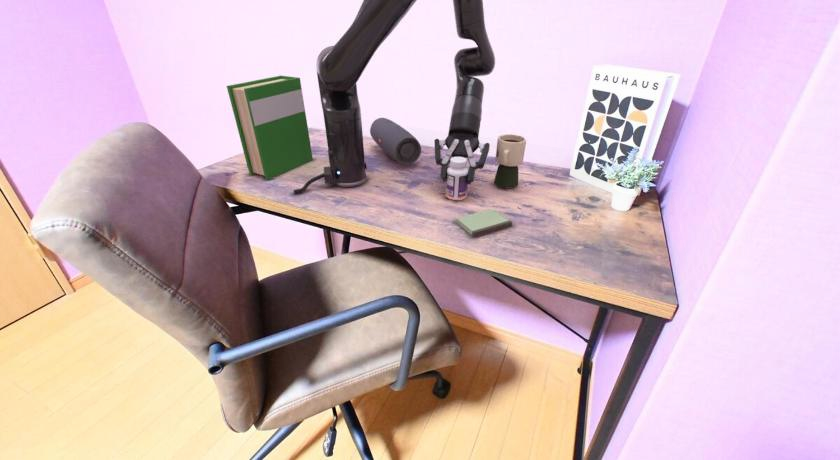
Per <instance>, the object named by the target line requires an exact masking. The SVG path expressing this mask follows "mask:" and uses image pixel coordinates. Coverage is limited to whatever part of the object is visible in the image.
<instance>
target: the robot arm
mask: <svg viewBox="0 0 840 460" xmlns="http://www.w3.org/2000/svg"><path fill="white" fill-rule="evenodd" d="M417 1H418V0H362V3H361V5H360V7H359V9H358V12H357V14H356V16H355V18H354V20H353V21H352V23H351V25H350V26H349V27H348V28H347V30H346V31H345V32H344V34H343V35H342V36H341V37H340V38H339V40H338V41H337V42H336V43H334V45H329V46H326V47H324V48H323V49H322V50H321V51H320V53H318V56H317V58H316V63H315V64H316V68H315V69H316V74H317V75H316V76H317V83H318V91H319V96H320V104H321V108H322V115H323V121H324V127H325V128H324V129H325V136H326V143H327V154H328V161H329V166H324V167H323V173H321V174H319V175H317V176H314V177H312V178H311V179H309V180H308V181H306V182H305V183H304V185H303V186H302V187H301V188H298V189H293V193H294V195H295V194H301V193H304V192H305V191H306V190H307V189H308V188H309V186H310V185H312V184H313V183H314V182H316V181H319V180H321V179H323V178H324V184H331V185H332V186H333V187H341V188H352V187H357V186H360V185H363V184H364V183H366V181H367V168H368V167H367V163H366V161H365V160H366V158H365V147H364V136H363V135H364V134H363V123H362V111H361V104H360V101H359V96H358V86H357V85H358V84H357V83H358V81H359V80H360V78H361V76H362V74H363V73H364V71H365V70H366V68H367V66H368V64H369V63H370V61H371V59H373V56H374V55H375V53H376V52H377V50H378V49H379V48H380V47H381V45H382V44H383V43H384V41H386V39H388V37H390V35H391V34H392V33H393V31H394V30H395V29H396V28H397V27H398V25H399V24H400V22H402V21H403V19H404V18H405V17H406V15H408V12H409V11H410V10H411V9H412V7H413V6H414V5H415V3H416V2H417ZM452 5H453V6H452V7H453V13H454V21H455V28H456V33H457V37H458V38H459V39H463V40H469V41H472V42H474V43H475V45H476V46H473V47H466V48H465V47H464V48H461V49H459V50H457V52H456V54H455V55H454V58H453V68H454V72H455V81H456V90H455V96H454V102H453V105H452V109H451V113H450V114H451V115H450V119H449V120H450V121H449V127H448V134H447V137H446V138H445V139H439V138H435V139H434V141H433V142H434V161H435V163H436V165H438V166H441V167H440V174H439V177H440V179H441V180H442V182H443V183H446V177H447V168H448V167H449V166H450V159H451V158H452V157H464V158H466V159H467V163H468V165H469V167H468V169H469V173H468V180H467V184H468V185H471V183H473V182H474V180H475V174H476V170H482V169H483V168H484V167H485V163H486V160H487V157H488V154H489V152H490V143H489V142H485V143H483V142H480V140H479V136H480V127H481V122H482V114H483V100H484V94H485V93H484V92H485V84H484V82H483V81H482V80H481V79H479V78H477V77H484V76H485V77H486V76H488V75H490V74H492V73H493V71H494V69H495V66H496V56H495V52H494V50H493V47H492V44H491V41H490V39H489V36H488V32H487V28H486V22H485V10H484V9H485V8H484V2H483V0H452ZM444 147H446V148H447V149H448V150H447V151H446V153H445V156H444V157H443V158H442V155H441V154H442V153H441V150H443V149H444ZM478 149H479V152H480V153H481V154H480V157H479V160H478V161H475V157H474V153H475V152H476V151H477V150H478Z"/></svg>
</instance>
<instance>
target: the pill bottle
mask: <svg viewBox="0 0 840 460" xmlns="http://www.w3.org/2000/svg"><path fill="white" fill-rule="evenodd" d="M467 164H468V158H464V157H452V158H451V159H450V163H449V165H448V168H447V177H446V182H445V196H446V198H448V199H450V200H453V201H462V200H465V199H466V198H467V197H468V192H469V191H468V189H469V184H467V180H468V173H469V167H467Z"/></svg>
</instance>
